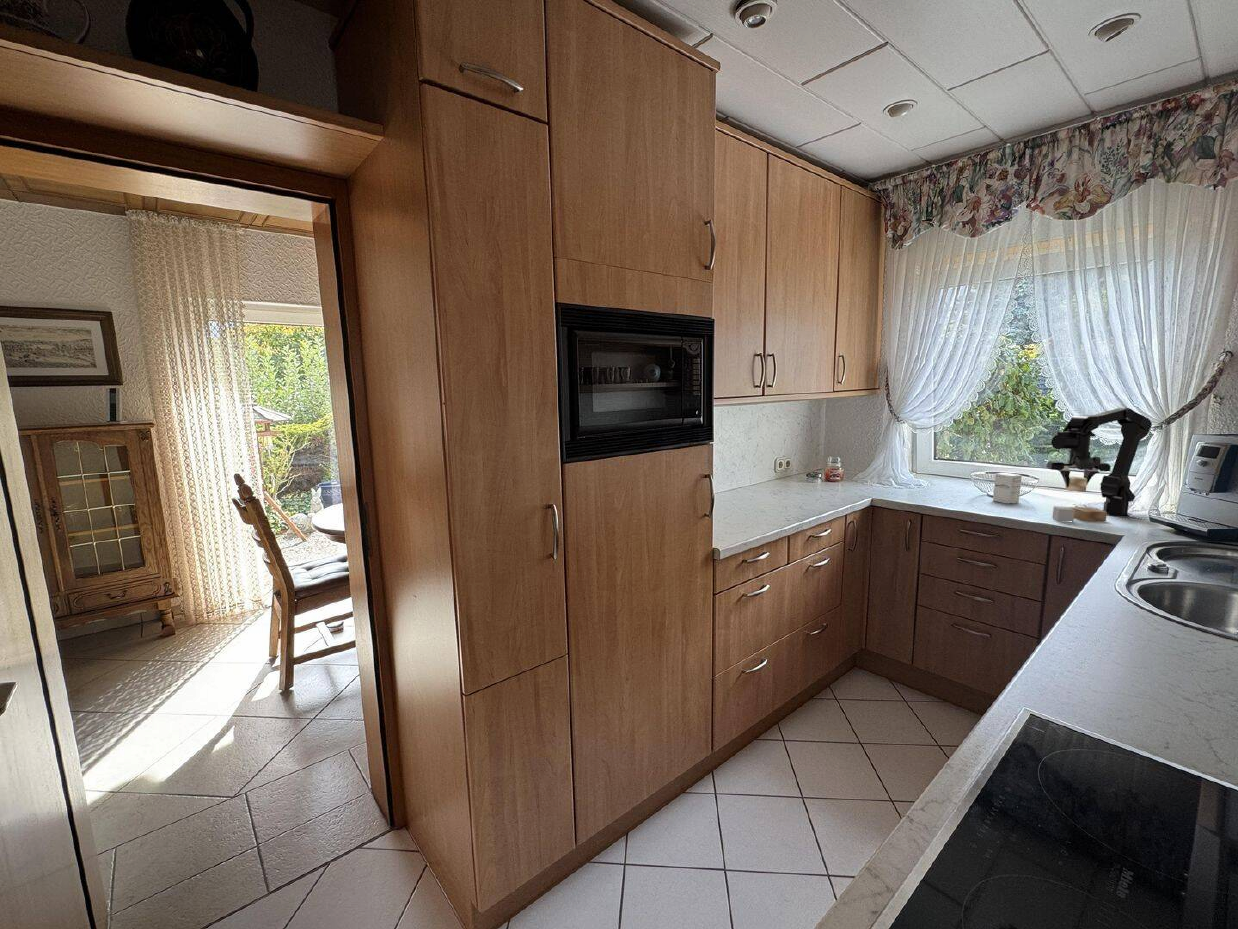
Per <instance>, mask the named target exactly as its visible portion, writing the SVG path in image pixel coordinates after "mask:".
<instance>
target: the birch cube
mask: <svg viewBox="0 0 1238 929" xmlns="http://www.w3.org/2000/svg"><path fill="white" fill-rule="evenodd" d="M1087 487H1088V484H1087V479H1086V478H1084V476H1069V487H1066V485H1065V487H1064V488H1065V490H1066V491H1069V492H1084V493H1086V492H1087Z"/></svg>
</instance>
